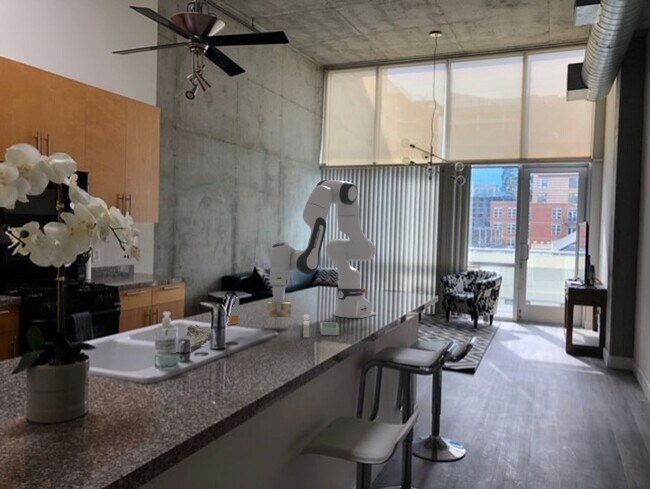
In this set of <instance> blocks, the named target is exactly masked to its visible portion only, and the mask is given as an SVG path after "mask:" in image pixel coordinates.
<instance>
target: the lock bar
mask: <svg viewBox="0 0 650 489" xmlns="http://www.w3.org/2000/svg"><path fill="white" fill-rule="evenodd" d="M291 304H292V302H291V301H290V302H289V301H288V302H286V301H283V302H282V303H281V311H280V312H277V305H276V303H274V301H268V302H267V318H291V314H292V310H291V308H292V307H291V306H292V305H291Z"/></svg>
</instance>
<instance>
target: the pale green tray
mask: <svg viewBox="0 0 650 489" xmlns="http://www.w3.org/2000/svg"><path fill="white" fill-rule="evenodd" d="M319 329H320V330H319V331H320V336H339V335H340V327H339V323H338V322H333V321H329V322H328V321H327V322H326V321H320V323H319Z"/></svg>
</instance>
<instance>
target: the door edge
mask: <svg viewBox="0 0 650 489" xmlns="http://www.w3.org/2000/svg"><path fill="white" fill-rule="evenodd" d="M302 333H303V334H302V335H303V336H302V337H303V338H310V313H308V314H307V313H305V314H303V330H302Z"/></svg>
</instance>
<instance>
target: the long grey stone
mask: <svg viewBox="0 0 650 489" xmlns="http://www.w3.org/2000/svg"><path fill="white" fill-rule="evenodd" d="M211 338H212V337H211V326H201V325H198V324H195V325H193V324H191V325H188V327H187V331H186V334H185V336H182V337H181V339H189V340H190V342H191V352H193V351H195V350H197V349H198V348H200V347H202V346H203V345H204V344H207V342H208V341H209V340H211ZM181 339H180V340H181Z"/></svg>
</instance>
